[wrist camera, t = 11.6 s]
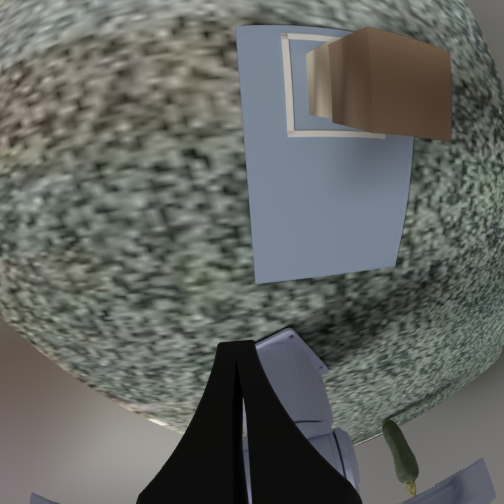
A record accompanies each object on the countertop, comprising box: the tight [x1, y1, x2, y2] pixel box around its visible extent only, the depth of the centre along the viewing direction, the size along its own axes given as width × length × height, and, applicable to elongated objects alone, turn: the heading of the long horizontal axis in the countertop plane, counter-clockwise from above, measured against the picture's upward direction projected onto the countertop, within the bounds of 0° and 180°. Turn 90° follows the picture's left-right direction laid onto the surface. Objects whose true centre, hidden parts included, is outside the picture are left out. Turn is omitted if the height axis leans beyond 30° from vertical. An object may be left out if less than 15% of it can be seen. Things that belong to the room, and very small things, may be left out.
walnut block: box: [328, 27, 452, 142], centre depth 9 cm, size 4×4×4 cm
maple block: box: [306, 41, 333, 119], centre depth 12 cm, size 4×4×4 cm
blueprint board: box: [235, 25, 414, 284], centre depth 17 cm, size 18×12×1 cm, turn 4°
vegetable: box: [382, 419, 419, 497], centre depth 34 cm, size 4×4×20 cm
